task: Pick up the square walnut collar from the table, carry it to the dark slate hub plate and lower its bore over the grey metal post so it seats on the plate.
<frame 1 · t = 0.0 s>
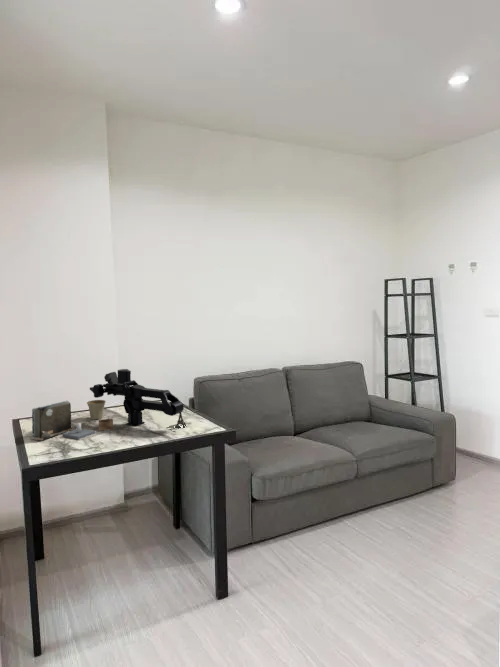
hand: (96, 386, 248), 17 cm above the table, tool horizontal, fingers open, 9 cm apart
flower pot: (96, 418, 249), on the table
radio: (52, 434, 222), on the table
hub: (79, 434, 219), on the table
eiffel tower figurine: (180, 428, 232), on the table
collar: (106, 428, 230), on the table
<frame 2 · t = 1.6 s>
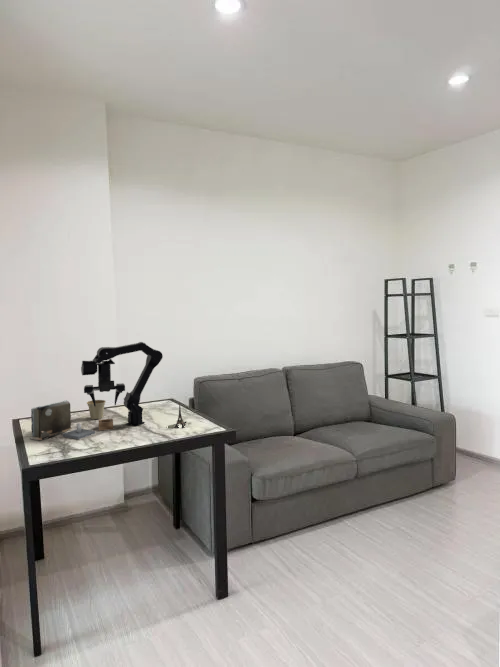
hand: (105, 405, 230), 11 cm above the table, tool pointing down, fingers open, 9 cm apart
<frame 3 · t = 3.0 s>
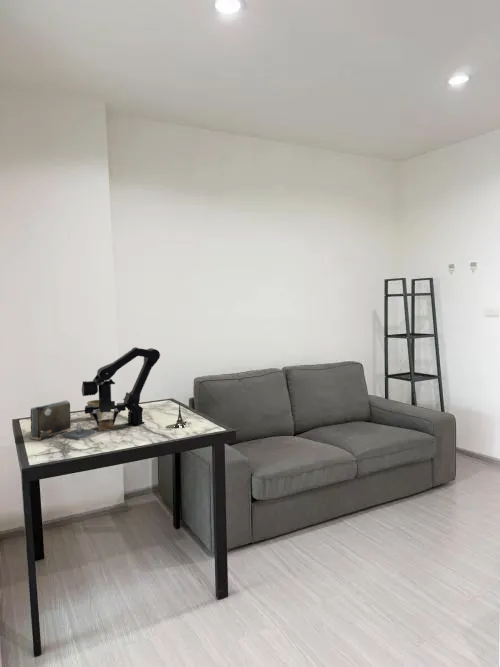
hand: (105, 425, 230), 1 cm above the table, tool pointing down, fingers closed on collar, 7 cm apart
collar: (106, 428, 230), on the table, touching gripper
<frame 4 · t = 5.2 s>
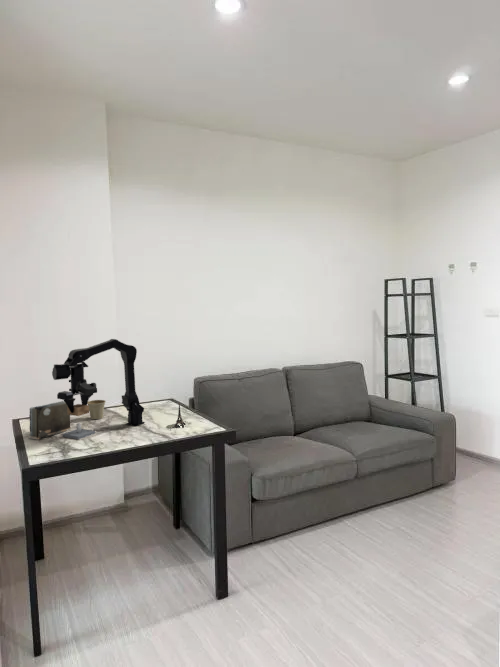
hand: (78, 411, 219), 11 cm above the table, tool pointing down, fingers closed on collar, 7 cm apart
collar: (78, 413, 219), point 10 cm above the table, touching gripper
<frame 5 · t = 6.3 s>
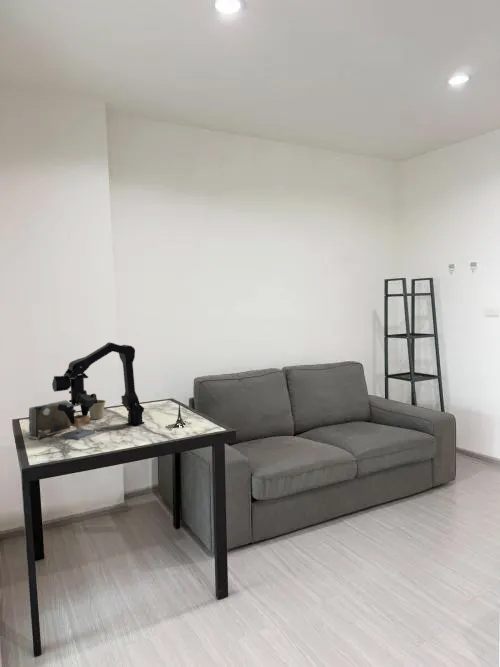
hand: (78, 422, 219), 6 cm above the table, tool pointing down, fingers closed on collar, 7 cm apart
collar: (78, 424, 219), point 5 cm above the table, touching gripper
when the fingers open (3 cm above the table, at t = 7.4 s): collar drops 1 cm, resting on hub.
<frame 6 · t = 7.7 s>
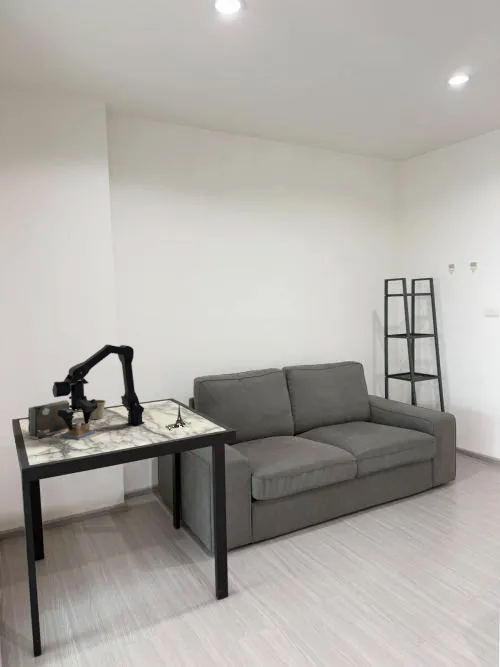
hand: (78, 427, 219), 3 cm above the table, tool pointing down, fingers open, 9 cm apart
collar: (79, 432, 219), point 1 cm above the table, touching hub
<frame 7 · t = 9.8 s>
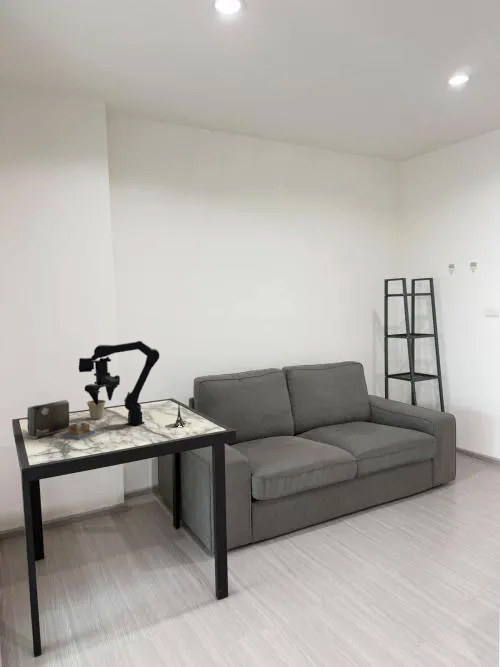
hand: (103, 402, 233), 12 cm above the table, tool pointing down, fingers open, 9 cm apart
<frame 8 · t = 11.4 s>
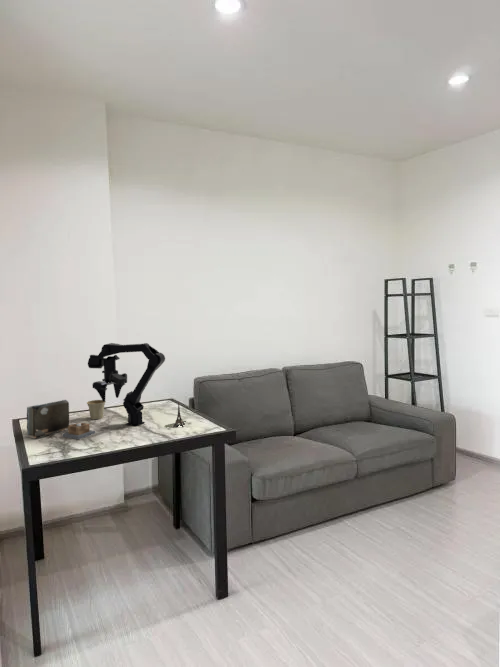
hand: (110, 399, 238), 12 cm above the table, tool pointing down, fingers open, 9 cm apart
at the end: collar 0.0 cm off-centre on the hub, point 1.2 cm above the hub's base; the gripper is holding nothing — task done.
